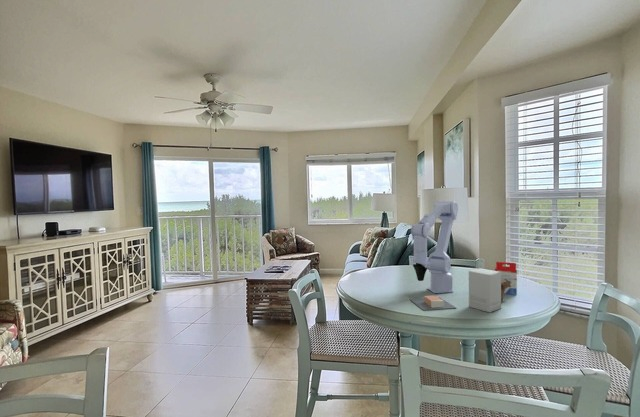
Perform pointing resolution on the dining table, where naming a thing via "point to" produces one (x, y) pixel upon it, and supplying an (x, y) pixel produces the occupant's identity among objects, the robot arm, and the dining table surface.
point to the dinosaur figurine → (503, 287)
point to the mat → (424, 306)
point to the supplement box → (485, 289)
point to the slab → (433, 301)
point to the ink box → (508, 276)
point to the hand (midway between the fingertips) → (420, 280)
